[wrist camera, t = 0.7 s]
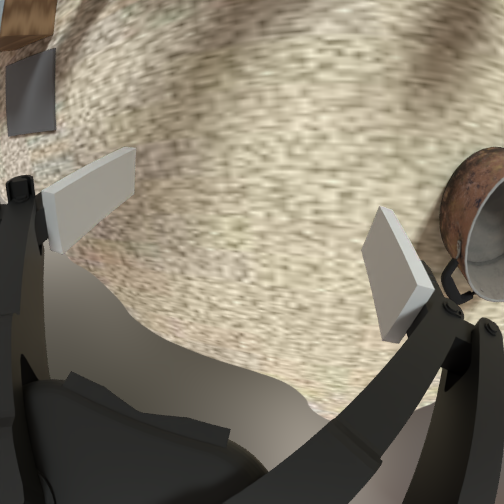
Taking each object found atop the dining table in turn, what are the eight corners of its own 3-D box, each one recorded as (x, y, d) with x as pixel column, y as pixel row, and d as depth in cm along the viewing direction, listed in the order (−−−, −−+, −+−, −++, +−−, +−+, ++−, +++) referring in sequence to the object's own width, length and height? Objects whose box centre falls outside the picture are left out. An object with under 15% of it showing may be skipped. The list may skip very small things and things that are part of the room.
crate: (21, 0, 28) (-27, 0, 17) (60, -20, 27) (8, -27, 16) (16, 49, 35) (-35, 57, 23) (53, 34, 34) (-3, 36, 22)
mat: (7, 66, 37) (5, 66, 36) (55, 48, 35) (53, 48, 35) (10, 135, 45) (8, 136, 44) (56, 129, 43) (54, 130, 43)
